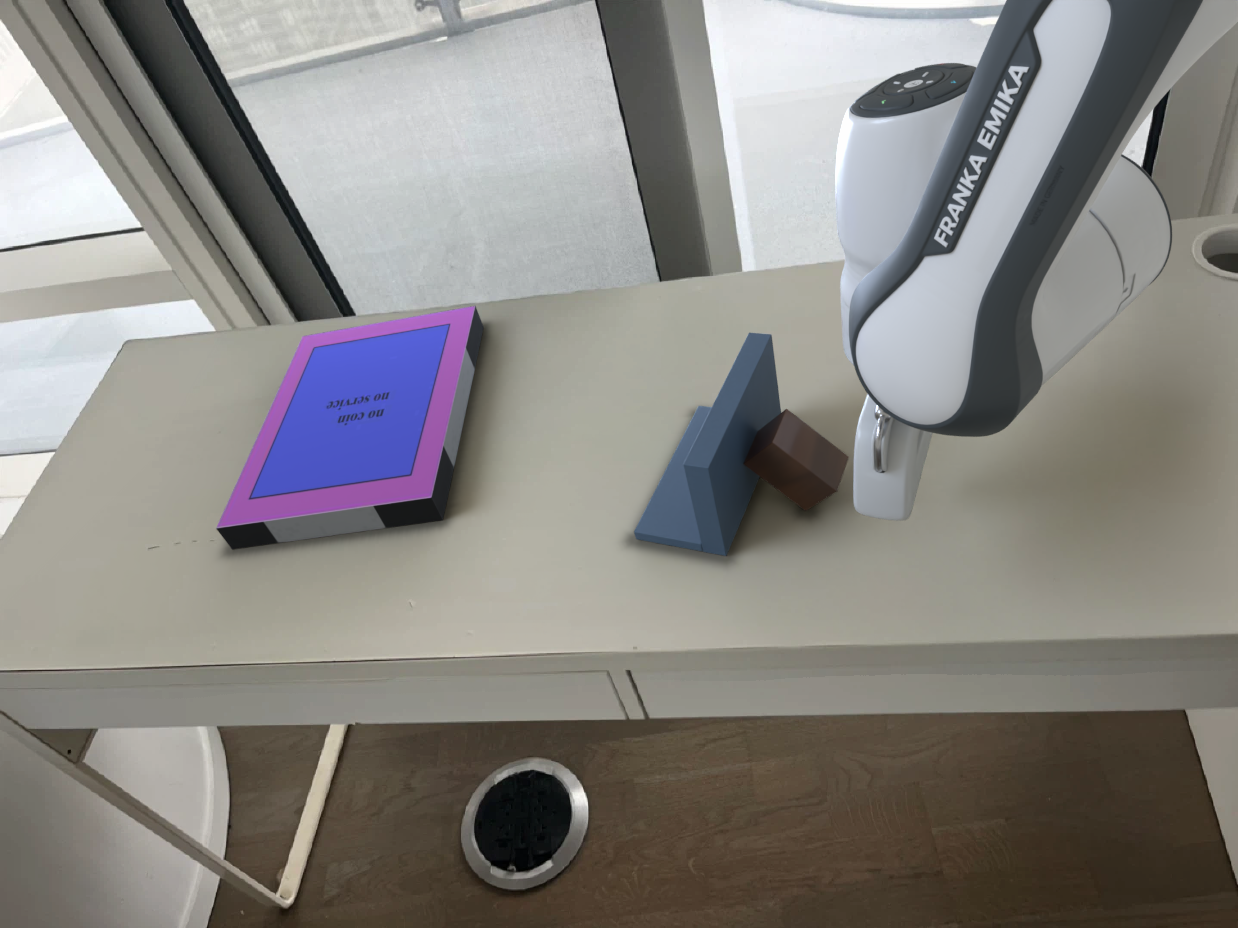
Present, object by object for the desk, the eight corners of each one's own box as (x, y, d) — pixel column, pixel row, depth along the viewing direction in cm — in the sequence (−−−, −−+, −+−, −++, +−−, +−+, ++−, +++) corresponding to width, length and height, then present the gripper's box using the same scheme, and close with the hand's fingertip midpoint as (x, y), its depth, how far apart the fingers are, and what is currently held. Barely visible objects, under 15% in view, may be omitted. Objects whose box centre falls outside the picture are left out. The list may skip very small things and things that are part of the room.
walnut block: (851, 480, 76) (845, 413, 71) (839, 516, 73) (832, 449, 68) (765, 470, 79) (753, 405, 74) (751, 503, 77) (737, 438, 72)
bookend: (782, 422, 83) (771, 333, 76) (726, 556, 73) (708, 468, 66) (700, 413, 86) (682, 326, 79) (635, 539, 76) (609, 453, 70)
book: (475, 305, 103) (431, 497, 81) (483, 327, 105) (442, 520, 83) (302, 335, 106) (216, 528, 84) (313, 356, 108) (232, 549, 86)
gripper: (932, 433, 52) (927, 583, 62) (984, 239, 65) (973, 388, 74) (823, 421, 55) (834, 566, 64) (893, 236, 68) (893, 380, 77)
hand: (909, 469), depth 69 cm, fingers closed
